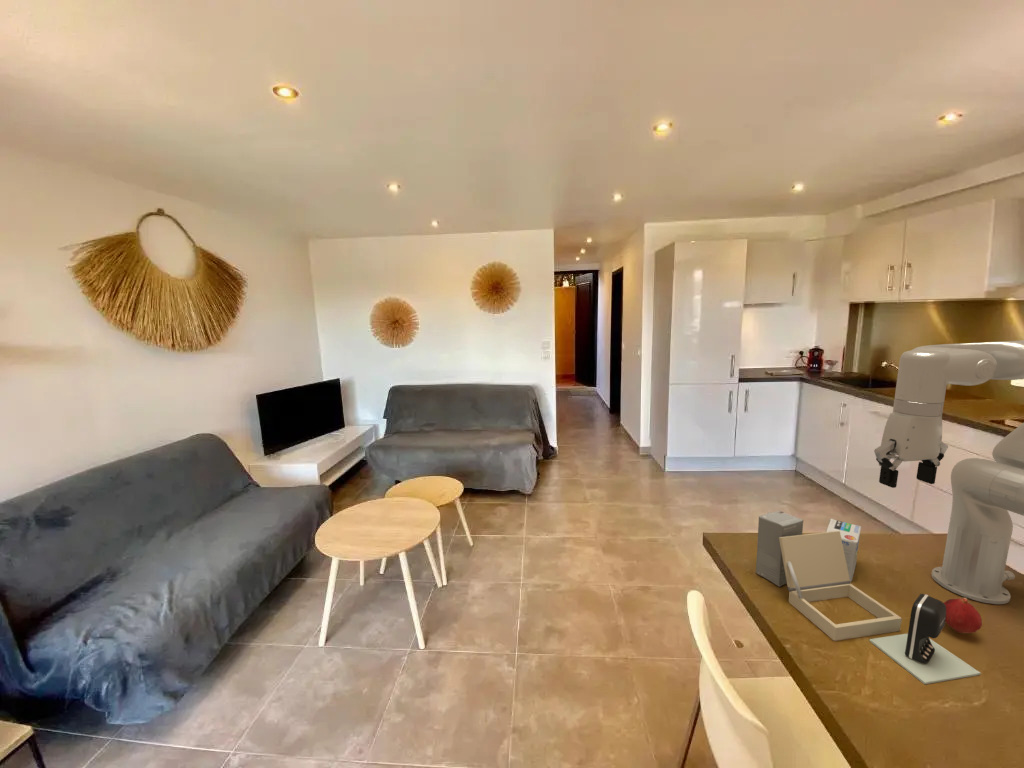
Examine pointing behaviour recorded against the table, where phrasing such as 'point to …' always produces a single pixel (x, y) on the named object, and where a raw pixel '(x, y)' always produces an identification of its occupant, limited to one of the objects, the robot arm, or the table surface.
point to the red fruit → (962, 616)
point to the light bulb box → (847, 541)
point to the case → (829, 585)
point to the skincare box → (774, 544)
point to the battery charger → (924, 627)
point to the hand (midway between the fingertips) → (906, 483)
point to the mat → (935, 670)
